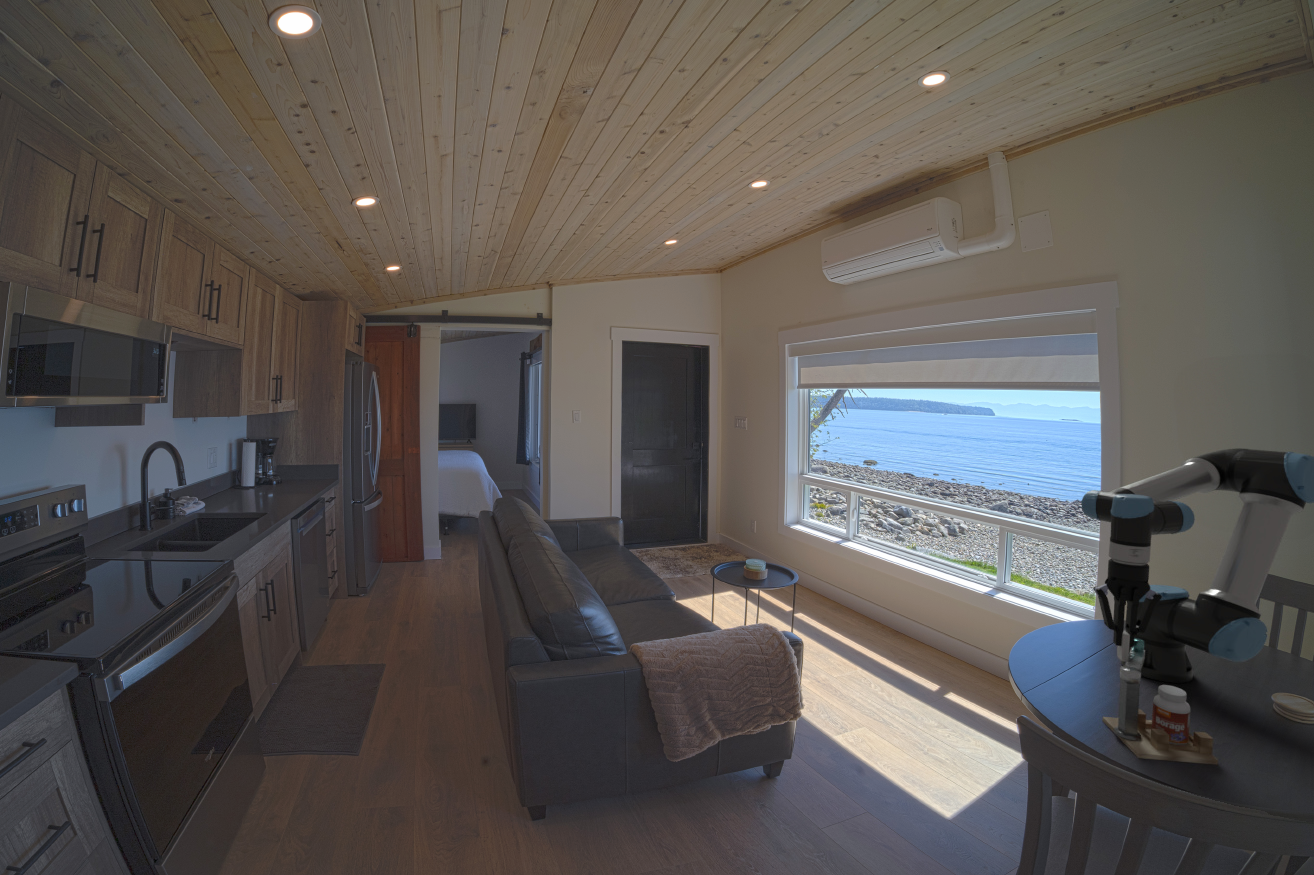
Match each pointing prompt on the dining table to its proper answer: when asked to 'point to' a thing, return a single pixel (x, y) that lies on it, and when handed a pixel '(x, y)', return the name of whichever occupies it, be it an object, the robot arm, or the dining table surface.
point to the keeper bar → (1133, 663)
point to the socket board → (1159, 755)
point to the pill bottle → (1172, 714)
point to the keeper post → (1128, 711)
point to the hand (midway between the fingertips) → (1122, 658)
